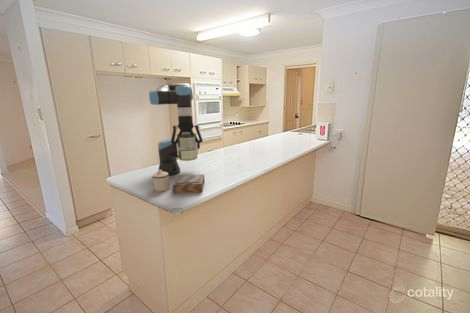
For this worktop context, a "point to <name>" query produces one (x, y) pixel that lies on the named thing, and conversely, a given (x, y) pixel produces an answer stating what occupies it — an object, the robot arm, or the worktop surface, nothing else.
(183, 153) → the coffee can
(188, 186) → the riser block
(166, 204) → the worktop surface
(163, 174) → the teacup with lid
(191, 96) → the robot arm
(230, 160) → the worktop surface
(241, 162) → the worktop surface
